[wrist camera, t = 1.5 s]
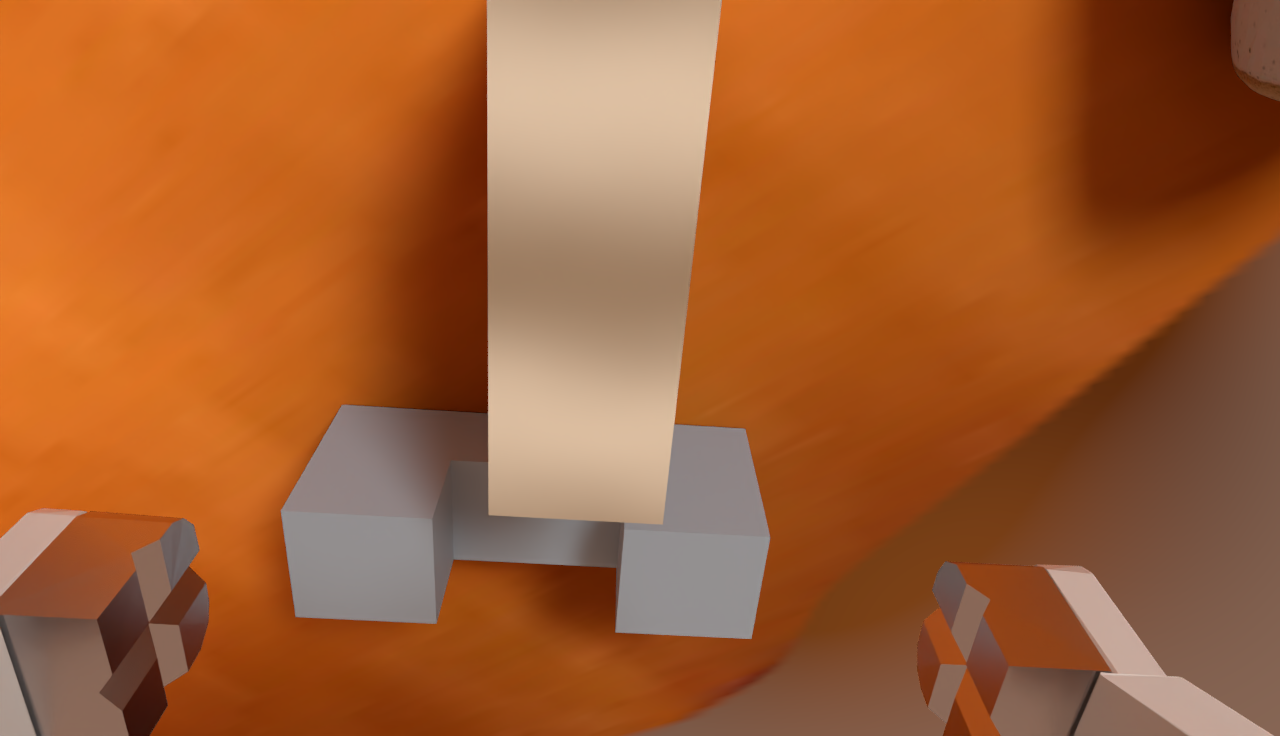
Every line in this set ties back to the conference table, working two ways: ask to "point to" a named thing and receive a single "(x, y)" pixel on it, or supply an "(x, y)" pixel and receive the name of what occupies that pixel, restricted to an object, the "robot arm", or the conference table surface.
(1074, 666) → the robot arm
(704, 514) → the grey notched block
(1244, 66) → the ceramic mug
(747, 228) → the conference table surface
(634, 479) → the wooden notched block
